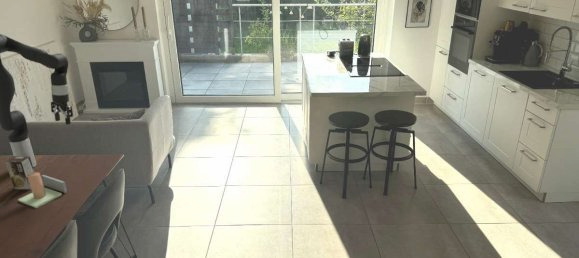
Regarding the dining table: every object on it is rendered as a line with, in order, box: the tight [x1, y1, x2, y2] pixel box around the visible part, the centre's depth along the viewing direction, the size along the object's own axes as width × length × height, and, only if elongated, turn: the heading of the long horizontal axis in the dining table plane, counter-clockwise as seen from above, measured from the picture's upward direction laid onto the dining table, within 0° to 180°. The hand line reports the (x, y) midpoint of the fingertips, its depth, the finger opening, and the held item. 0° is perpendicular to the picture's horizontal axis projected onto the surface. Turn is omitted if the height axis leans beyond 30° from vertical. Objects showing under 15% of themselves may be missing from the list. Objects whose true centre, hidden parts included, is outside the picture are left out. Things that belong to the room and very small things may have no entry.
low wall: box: [40, 174, 68, 194], centre depth 201 cm, size 17×1×6 cm, turn 63°
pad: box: [17, 186, 62, 209], centre depth 193 cm, size 14×13×1 cm
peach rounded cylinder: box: [27, 171, 46, 199], centre depth 191 cm, size 5×5×12 cm
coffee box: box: [5, 155, 35, 190], centre depth 201 cm, size 9×6×16 cm
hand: (62, 122), depth 207 cm, fingers open, 8 cm apart
